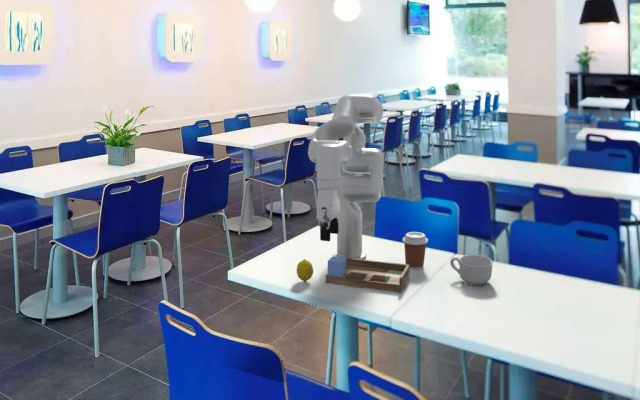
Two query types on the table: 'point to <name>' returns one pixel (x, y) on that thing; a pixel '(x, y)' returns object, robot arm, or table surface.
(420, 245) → the coffee cup
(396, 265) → the wooden rimmed tray
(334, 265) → the blue block
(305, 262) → the lemon
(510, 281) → the table surface
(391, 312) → the table surface
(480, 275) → the teacup
